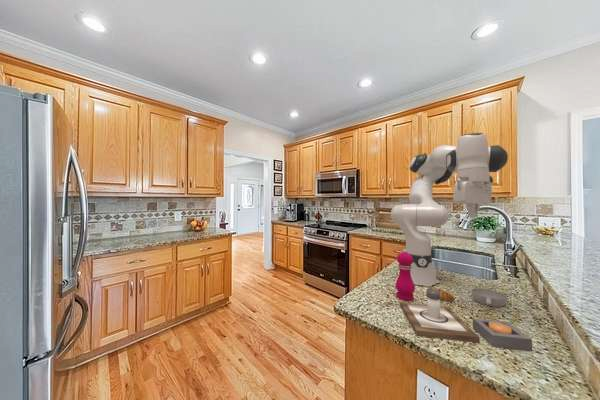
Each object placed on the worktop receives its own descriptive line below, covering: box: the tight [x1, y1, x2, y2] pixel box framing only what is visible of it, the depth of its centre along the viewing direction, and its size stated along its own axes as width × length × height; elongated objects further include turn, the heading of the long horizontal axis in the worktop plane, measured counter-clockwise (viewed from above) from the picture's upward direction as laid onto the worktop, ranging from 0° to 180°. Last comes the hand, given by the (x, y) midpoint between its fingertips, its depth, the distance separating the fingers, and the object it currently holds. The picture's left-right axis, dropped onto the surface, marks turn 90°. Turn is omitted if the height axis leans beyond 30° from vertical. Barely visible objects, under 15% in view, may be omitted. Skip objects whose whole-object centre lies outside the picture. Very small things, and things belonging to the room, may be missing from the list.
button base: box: [472, 317, 533, 352], centre depth 62 cm, size 9×9×3 cm
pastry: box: [425, 286, 455, 302], centre depth 89 cm, size 9×7×4 cm
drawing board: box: [399, 301, 481, 344], centre depth 71 cm, size 19×16×2 cm
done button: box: [489, 322, 512, 334], centre depth 62 cm, size 5×5×2 cm
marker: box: [426, 288, 441, 319], centre depth 71 cm, size 4×4×8 cm
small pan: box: [470, 287, 508, 308], centre depth 83 cm, size 11×18×4 cm, turn 139°
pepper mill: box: [395, 248, 416, 302], centre depth 89 cm, size 7×7×20 cm
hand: (473, 217), depth 76 cm, fingers closed
